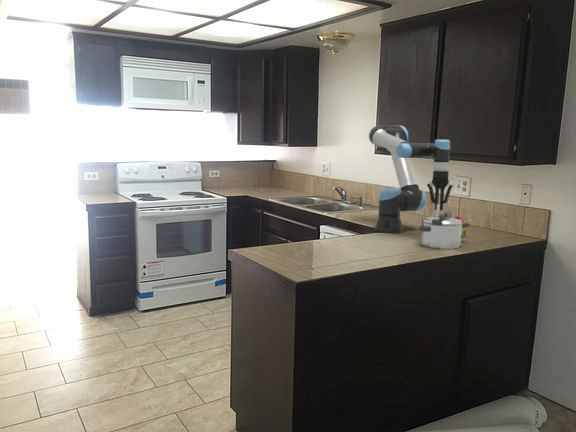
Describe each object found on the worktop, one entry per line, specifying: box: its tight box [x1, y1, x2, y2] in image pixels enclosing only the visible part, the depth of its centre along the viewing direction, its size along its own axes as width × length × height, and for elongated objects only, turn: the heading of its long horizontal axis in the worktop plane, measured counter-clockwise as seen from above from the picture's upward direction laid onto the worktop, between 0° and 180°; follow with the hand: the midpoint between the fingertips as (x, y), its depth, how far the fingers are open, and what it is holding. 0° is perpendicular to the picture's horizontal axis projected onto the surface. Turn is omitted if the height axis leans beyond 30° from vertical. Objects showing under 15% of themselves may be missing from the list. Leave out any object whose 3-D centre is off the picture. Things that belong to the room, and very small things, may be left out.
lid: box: [421, 210, 462, 226], centre depth 244 cm, size 31×19×3 cm, turn 152°
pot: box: [418, 221, 470, 250], centre depth 244 cm, size 18×29×11 cm, turn 117°
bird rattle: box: [454, 216, 468, 237], centre depth 264 cm, size 6×11×9 cm
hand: (438, 216), depth 255 cm, fingers closed
